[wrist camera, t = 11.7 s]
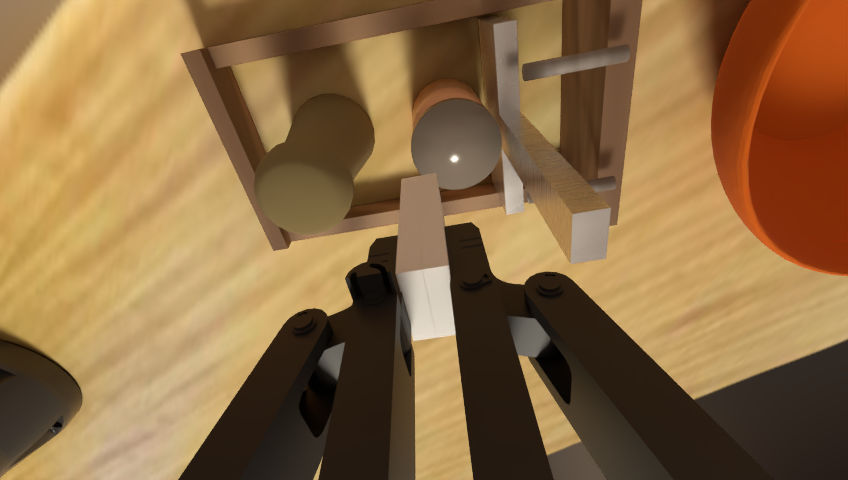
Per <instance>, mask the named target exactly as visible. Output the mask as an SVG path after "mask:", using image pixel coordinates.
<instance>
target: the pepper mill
mask: <svg viewBox="0 0 848 480" xmlns="http://www.w3.org/2000/svg"><path fill="white" fill-rule="evenodd" d="M374 143H375V137H374V128H373V126H372V123H371V121H370V118H369V116H368V115H367V114H366V113H365V111H364V110H363V109H362V108H361V106H359V105H358V104H356V103H355V102H354V101H352V100H351V99H349V98H346V97H343V96H340V95H337V94H322V95H319V96H316V97H313V98H311V99H309V100H308V101H307V102H306V103H305V104H303V105H302V106H301V107H300V109H299V111H298V113H297V115H296V116H295V119H294V121H293V124H292V126H291V129H290V131H289V134H288V136H287V139H286V141H285V142H284V143H281V144H278V145H276V146H275V147H274V148H273V149H272V150H270V151H269V152H268V153H267V154H266V155H265V156H264V157H263V158H262V159H261V161H260V163H259V165H258V167H257V169H256V172H255V179H254V192H255V196H256V200H257V203H258V204H259V206H260V207H261V209H262V210H263V212H264V214H265V215H266V217H268V218H269V219H270V220H271V221H272V222H273V223H274V224H275V225H277V226H279V227H281V228H282V229H284V230H286V231H289V232H293V233H297V234H318V233H321V232H325V231H328V230H330V229H331V228H333V227H334V226H336V225H337V224H339V223H340V222H341V221H342V220H343V218H344V217H345V216H346V214H347V213H348V211H349V210H350V207H351V203H352V199H353V195H354V184H353V180H354V178H355V177H356V175H357V174H358V173H359V171H360V170H361V168H362V167H363V165H364V164H365V163H366V161H367V160H368V158H369V157H370V155H371V154H372V151H373V147H374Z"/></svg>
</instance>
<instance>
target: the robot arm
mask: <svg viewBox="0 0 848 480" xmlns="http://www.w3.org/2000/svg"><path fill="white" fill-rule="evenodd" d="M345 280H346V283H347V285H348V288H349V291H350V293H351V296H352V299H353V304H352V306H350V307H349V308H347V309H345V310H343V311H341V312H338V313H336V314H333V315H331V316H328V317H327V314H326V313H325V312H324V311H323V310H320V309H315V308H314V309H306V310H304V311H301V312H298V313H297V314H295V315H294V316H292V317H290V318H289V319H288V320H287V322H286V323H285V324H284V325H283V326H282V328H281V329H280V331H279V332H278V334H277V335H276V337H275V338H274V340H273V341H272V343H271V344H270V346H269V347H268V349H267V350H266V351H265V353H264V354H263V356H262V357H261V359H260V360H259V362H258V363H257V365H256V366H255V368H254V369H253V371H252V372H251V374H250V375H249V376H248V378H247V379H246V381H245V382H244V384H243V385H242V387H241V388H240V390H239V391H238V393H237V394H236V396H235V397H234V398H233V400H232V401H231V403H230V404H229V406H228V407H227V409H226V410H225V412H224V413H223V415H222V416H221V418H220V419H219V421H218V422H217V423H216V425H215V426H214V428H213V429H212V431H211V432H210V434H209V435H208V437H207V438H206V440H205V441H204V443H203V444H202V446H201V447H200V448H199V450H198V451H197V453H196V454H195V456H194V457H193V459H192V460H191V462H190V463H189V465H188V466H187V468H186V469H185V471H184V472H183V473H182V475H181V476H180V478H179V479H178V480H313V478H314V476H315V474H316V471H317V469H318V466H319V464H320V462H321V459H322V457H323V459H322V464H321V469H320V475H319V480H415V367H414V351H413V347H412V344H411V332H412V336H413V340H414V341H416V340H423V339H430V338H437V337H444V336H451V335H456V341H457V349H458V357H459V365H460V374H461V382H462V390H463V398H464V406H465V414H466V423H467V431H468V439H469V447H470V455H471V463H472V472H473V480H554V479H553V476H552V472H551V469H550V465H549V462H548V458H547V455H546V451H545V448H544V444H543V441H542V437H541V434H540V430H539V427H538V424H537V420H536V417H535V413H534V410H533V406H532V403H531V399H530V396H529V392H528V389H527V385H526V382H525V378H524V375H523V371H522V368H521V365H520V361H519V358H518V355H522V356H528V358H529V360H530V362H531V364H532V365H533V367H534V368H535V370H536V371H537V373H538V374H539V376H540V378H541V379H542V381H543V382H544V384H545V385H546V387H547V388H548V390H549V391H550V393H551V394H552V396H553V398H554V399H555V401H556V402H557V404H558V405H559V407H560V408H561V410H562V411H563V413H564V415H565V416H566V418H567V419H568V421H569V422H570V424H571V425H572V427H573V428H574V430H575V431H576V433H577V435H578V436H579V438H580V439H581V441H582V442H583V444H584V445H585V447H586V448H587V450H588V451H589V453H590V455H591V456H592V458H593V459H594V461H595V462H596V464H597V465H598V467H599V468H600V470H601V472H602V473H603V474H604V476H605V477H606V479H607V480H774V479H773V478H772V477H771V476H770V475H769V474H768V473H767V472H766V471H765V470H764V469H763V468H762V467H761V466H760V465H759V464H758V463H757V462H756V461H755V460H754V459H753V458H752V457H751V456H750V455H749V454H748V453H747V452H746V451H745V450H744V449H743V448H742V447H741V446H740V445H738V443H737V442H736V441H735V440H734V439H733V438H732V437H731V436H730V435H729V434H728V433H727V432H726V431H725V430H723V429H722V428H721V427H720V426H719V425H718V424H717V423H716V422H715V421H714V420H713V419H712V418H711V417H710V416H709V415H708V414H707V413H706V412H705V411H704V410H703V409H702V408H701V407H700V406H699V405H698V404H697V403H696V402H695V401H694V400H693V399H692V398H691V397H690V396H689V395H688V394H687V393H686V392H685V391H684V390H683V389H682V388H681V387H680V386H679V385H678V384H677V383H676V382H675V381H674V380H673V379H672V378H671V377H670V376H669V375H668V374H667V373H666V372H665V371H664V370H663V369H662V368H661V367H660V366H659V365H658V364H657V363H656V362H655V361H654V360H653V359H652V358H651V357H650V356H649V355H648V354H647V353H646V352H645V351H644V350H643V349H642V348H641V347H640V346H639V345H638V344H637V343H635V342H634V341H633V340H632V339H631V338H630V337H629V336H628V335H627V334H626V333H625V332H624V331H623V330H622V329H621V328H620V327H619V326H618V325H617V324H616V323H615V322H614V321H613V320H612V319H611V318H610V317H609V316H608V315H607V314H606V313H605V312H604V311H603V310H602V309H601V308H600V307H599V306H598V305H597V304H596V303H595V302H594V301H593V300H592V299H591V298H590V297H589V296H588V295H587V294H586V293H585V292H584V291H583V290H582V289H581V288H580V287H579V286H578V285H577V284H576V283H575V282H574V281H573V280H572V279H570V278H569V277H567V276H566V275H563V274H560V273H557V272H542V273H537V274H535V275H533V276H531V277H529V279H528V280H527V281H526V282H525V285H521V284H511V283H506V282H503V281H501V280H499V279H497V278H496V277H495V276H494V275H493V273H492V272H491V270H490V266H489V262H488V259H487V255H486V252H485V248H484V246H483V241H482V238H481V234H480V231H479V228H477V227H476V226H475V225H474V224H473V223H471V222H470V223H464V224H458V225H452V226H445V221H444V215H443V209H442V203H441V197H440V191H439V186H438V180H437V174H436V173H432V174H426V175H421V176H415V177H409V178H403V179H401V194H400V210H399V226H398V235H397V236H390V237H384V238H378V239H376V240H375V241H374V243H373V244H372V245H371V247H370V249H369V255H368V261H367V262H365V263H362V264H360V265H358V266H356V267H354V268H353V269H352V270H351V271H350V272H348V274H347V276H346V278H345ZM81 406H82V395H81V392H80V390H79V388H78V386H77V384H76V383H75V382H74V381H73V379H72V378H71V377H70V376H69V375H68V374H67V373H66V372H64V371H63V370H62V369H61V368H59V367H58V366H57V365H55V364H54V363H52V362H51V361H49V360H47V359H46V358H44V357H42V356H40V355H38V354H36V353H34V352H32V351H30V350H27V349H25V348H23V347H20V346H17V345H14V344H11V343H8V342H4V341H0V478H1V477H2V476H3V475H4V474H5V473H6V472H8V471H9V470H10V469H12V468H13V467H14V466H16V465H17V464H18V463H20V462H21V461H22V460H24V459H25V458H26V457H28V456H29V455H30V454H32V453H33V452H34V451H36V450H37V449H38V448H40V447H41V446H42V445H44V444H45V443H46V442H48V441H49V440H50V439H52V438H53V437H54V436H56V435H57V434H58V433H60V432H61V431H62V430H63V429H64V428H65V427H66V426H67V425H68V424H69V422H70V421H71V420H72V419H73V417H74V416H75V415H76V414H77V412H78V411H79V410H80V408H81Z"/></svg>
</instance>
